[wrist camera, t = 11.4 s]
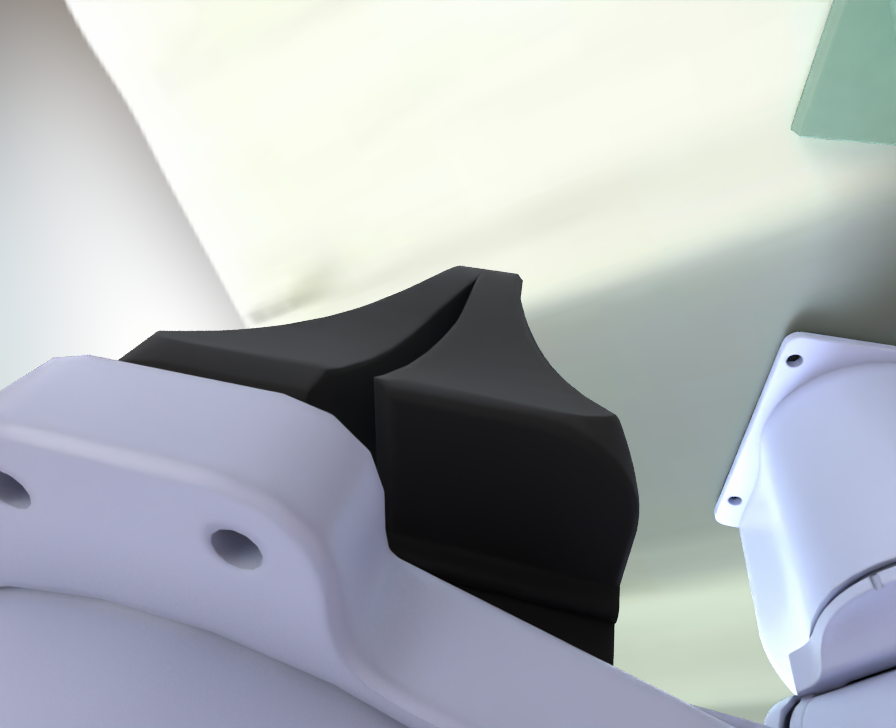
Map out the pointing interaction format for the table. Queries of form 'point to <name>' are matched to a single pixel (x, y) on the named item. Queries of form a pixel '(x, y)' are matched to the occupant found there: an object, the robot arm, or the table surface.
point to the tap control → (853, 76)
